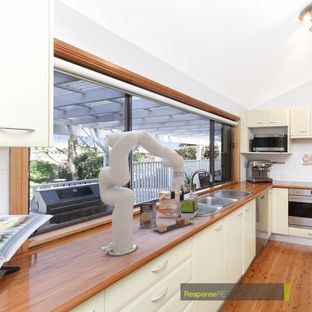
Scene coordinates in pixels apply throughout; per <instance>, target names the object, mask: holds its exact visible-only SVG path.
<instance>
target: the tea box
mask: <svg viewBox="0 0 312 312" xmlns="http://www.w3.org/2000/svg"><path fill="white" fill-rule="evenodd" d="M198 199H199V198H198V195H186V196H184V200H183V201H180V218H184V217H187V218H189V219H194V218H195V216H197V215H198V213H199V202H198V201H199V200H198Z"/></svg>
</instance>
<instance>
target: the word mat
mask: <svg viewBox="0 0 312 312" xmlns="http://www.w3.org/2000/svg"><path fill="white" fill-rule="evenodd" d="M180 218H181V217H180ZM181 219H184V225H183V226H176V223H174V224H171V225H168V224H167V223H164V222H162V223H158V224H157V229H153V230H152V232H154V233H157V234H160V235H164V234H167V233H170V232H173V231H176V230H179V229H183V228H186V227H189V226H192V225H194V223H193V222H190V218H187V217H184V218H181Z"/></svg>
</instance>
